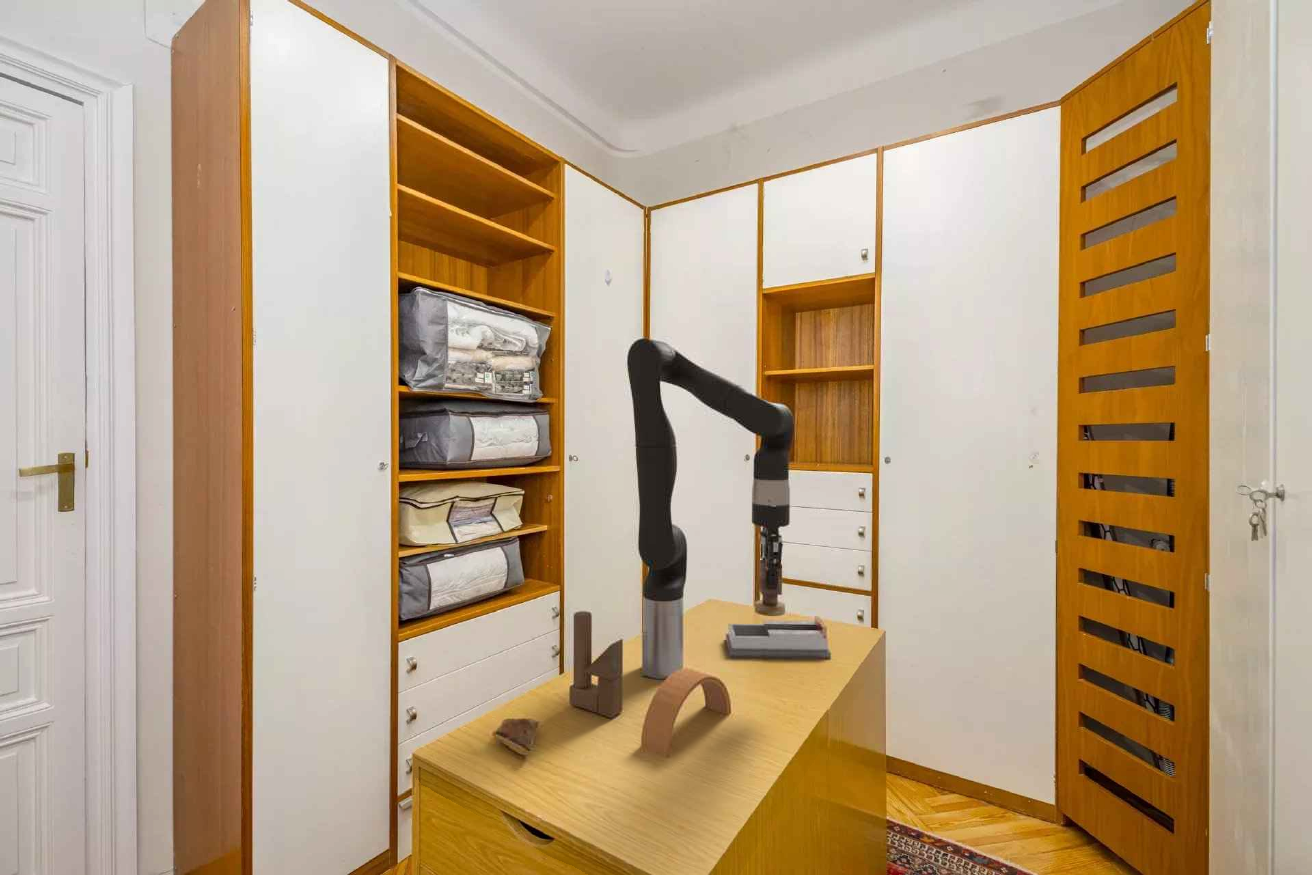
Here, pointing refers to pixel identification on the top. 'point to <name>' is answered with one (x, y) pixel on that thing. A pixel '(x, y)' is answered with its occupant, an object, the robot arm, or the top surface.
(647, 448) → the robot arm
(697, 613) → the top surface
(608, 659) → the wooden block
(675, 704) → the arch
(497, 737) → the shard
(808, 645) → the track
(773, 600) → the headed peg
